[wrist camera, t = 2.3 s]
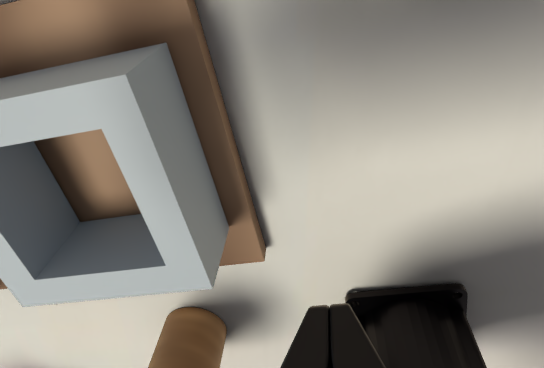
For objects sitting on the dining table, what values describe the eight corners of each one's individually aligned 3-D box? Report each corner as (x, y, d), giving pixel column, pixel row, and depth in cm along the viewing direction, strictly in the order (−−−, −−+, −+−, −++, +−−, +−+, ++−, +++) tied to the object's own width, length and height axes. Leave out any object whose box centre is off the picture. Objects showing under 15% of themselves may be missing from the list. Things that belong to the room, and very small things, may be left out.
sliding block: (166, 42, 15) (125, 74, 12) (229, 227, 20) (212, 288, 16) (-34, 85, 17) (-120, 124, 13) (68, 247, 21) (22, 306, 18)
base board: (182, -41, 15) (114, -26, 10) (266, 248, 22) (252, 345, 17) (-196, 55, 18) (-396, 104, 13) (-16, 279, 25) (-98, 368, 20)
